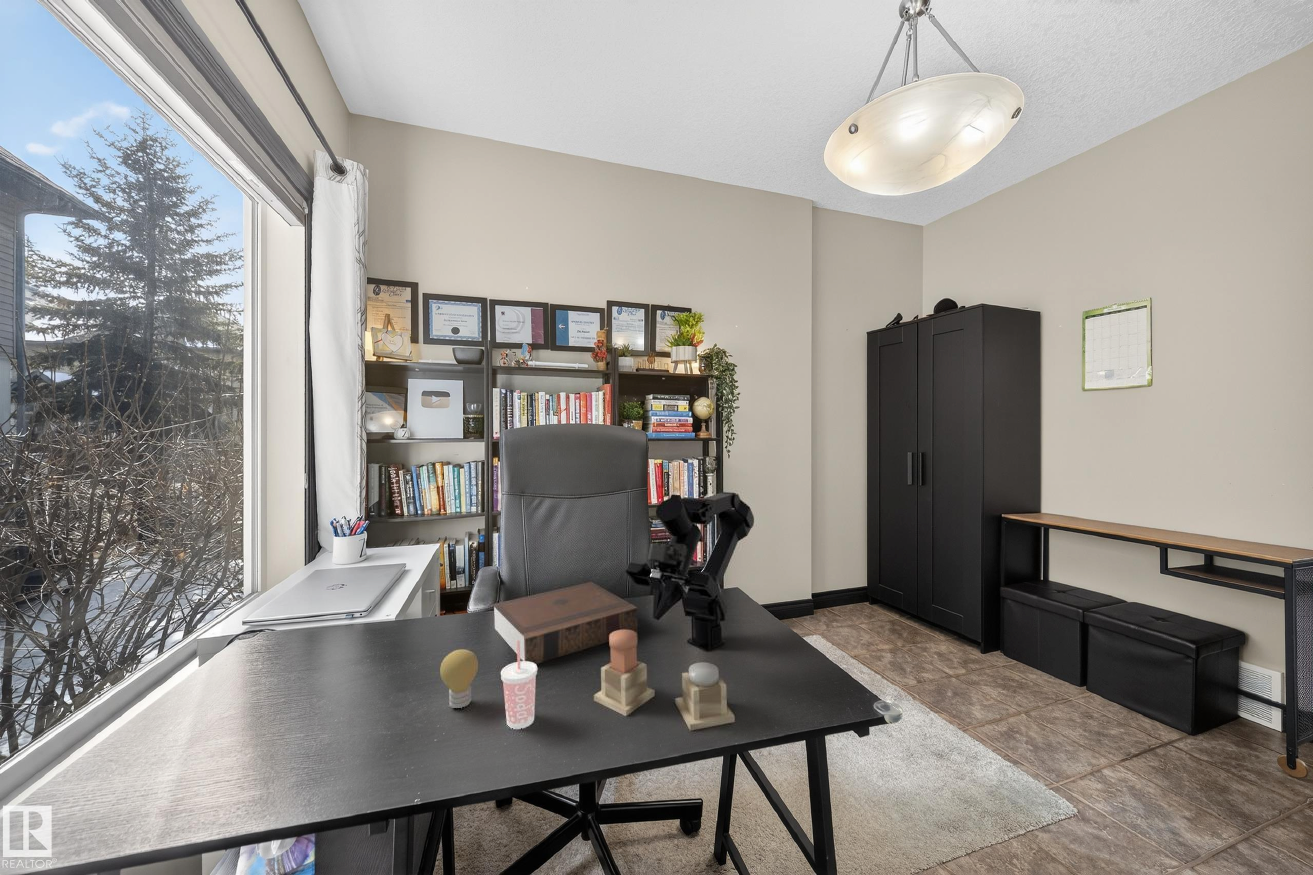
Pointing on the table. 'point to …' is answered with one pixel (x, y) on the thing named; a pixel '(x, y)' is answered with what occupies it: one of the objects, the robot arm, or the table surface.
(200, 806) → the table surface
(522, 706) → the beverage cup
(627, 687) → the cream square holder
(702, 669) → the light grey rounded piece
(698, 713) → the beige square socket
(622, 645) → the terracotta plunger
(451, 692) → the light bulb
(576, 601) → the book
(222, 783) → the table surface
